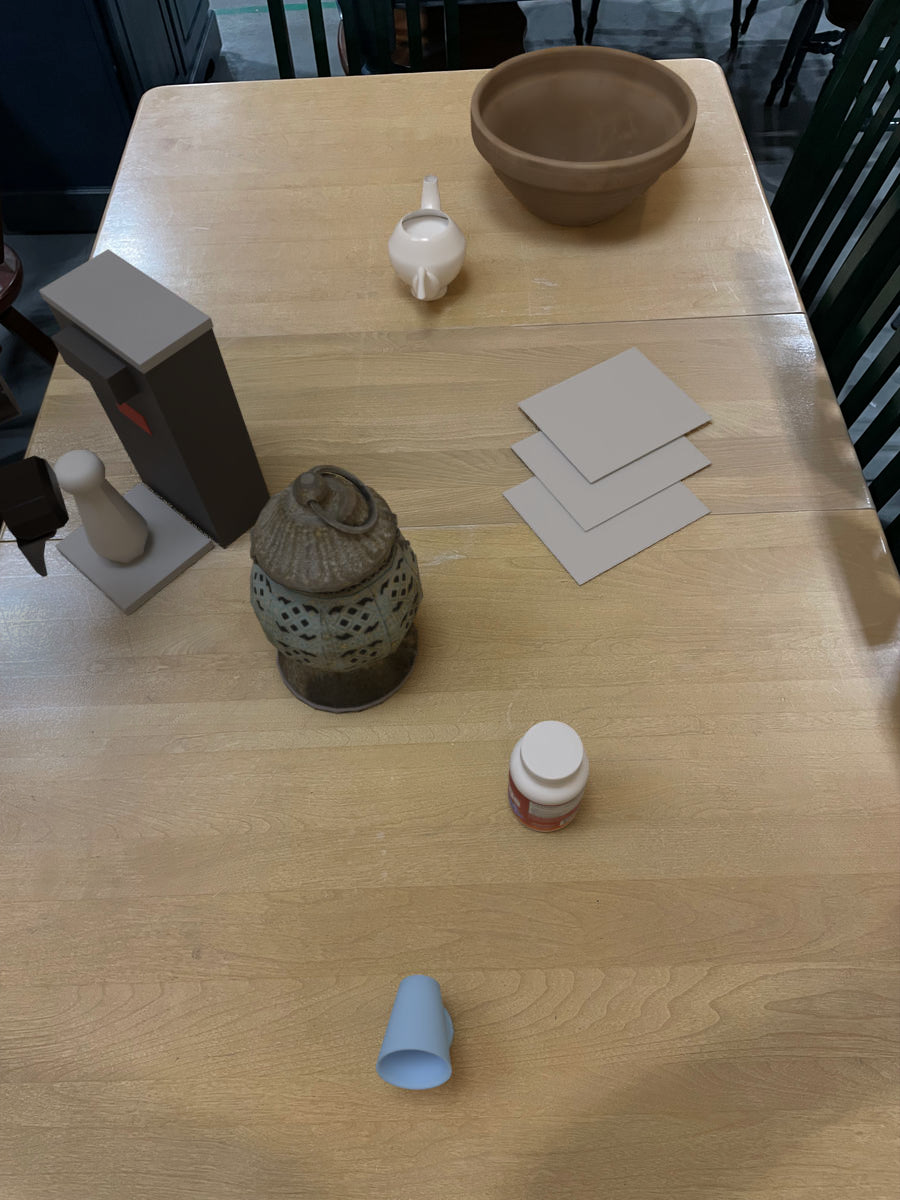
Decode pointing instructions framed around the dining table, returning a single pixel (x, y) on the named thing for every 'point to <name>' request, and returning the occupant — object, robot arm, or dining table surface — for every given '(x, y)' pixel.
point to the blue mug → (417, 1037)
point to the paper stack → (609, 464)
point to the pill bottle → (547, 776)
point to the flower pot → (581, 129)
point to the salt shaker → (102, 507)
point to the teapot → (427, 246)
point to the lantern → (335, 591)
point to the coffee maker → (157, 421)
